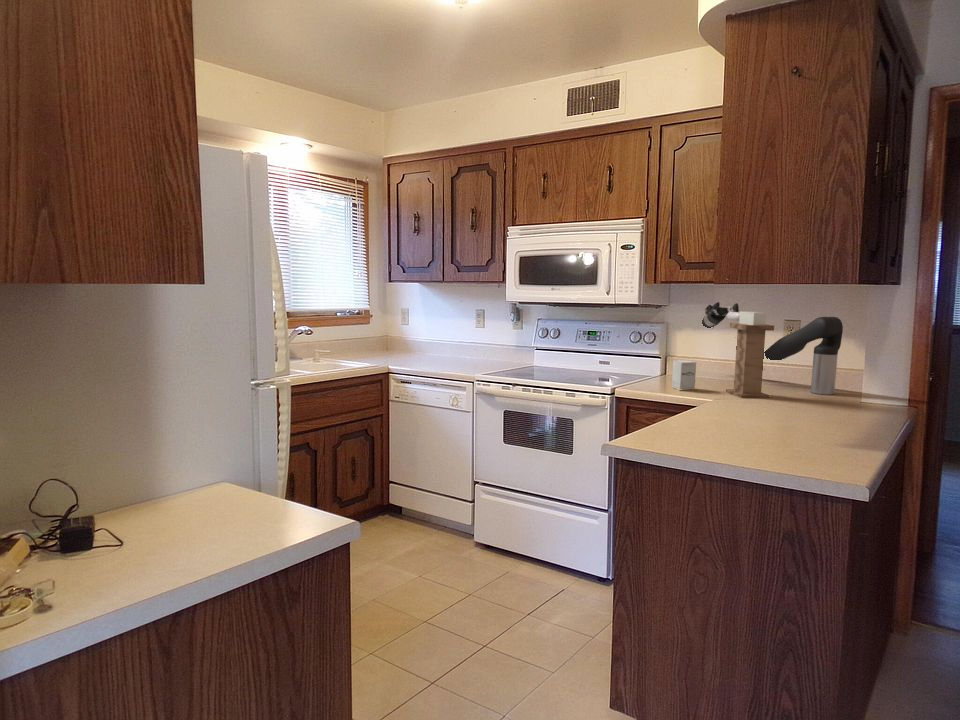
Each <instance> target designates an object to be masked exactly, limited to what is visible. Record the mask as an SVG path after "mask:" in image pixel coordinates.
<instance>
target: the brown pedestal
mask: <svg viewBox="0 0 960 720" xmlns="http://www.w3.org/2000/svg"><path fill="white" fill-rule="evenodd" d="M729 328H730V329H734V330H735V329H737V333H736V334H737V335H736V338H737V346H736V350H735V361H734V362H735V363H734V364H735V366H734V375H733V377H734V379H733V389H730V388H729V389H725V393H727V394H730V395H732V396H735V397H737V396H738V398H740V397H741V398H740V399H769V398H770V395H769V394H767V393H766V392H765V393H764V392H762V387H763V386H762V385H763V384H762V383H763V372H764V370H763V359H764V348H765V343H766V342H765V340H766V331H775V325H771V324H766V323H765V325H748V324H741V323H739V322H730V323H729Z"/></svg>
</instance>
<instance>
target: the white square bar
mask: <svg viewBox="0 0 960 720" xmlns="http://www.w3.org/2000/svg"><path fill="white" fill-rule="evenodd" d="M726 317H727V320H730V321H736V322H738V323H741V324H748V325H765V324H766V317H767V316H766V313H765V312H757V311H739V312H729V313H728V314H727V315H726Z"/></svg>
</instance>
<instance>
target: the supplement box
mask: <svg viewBox="0 0 960 720" xmlns="http://www.w3.org/2000/svg"><path fill="white" fill-rule="evenodd" d="M672 362H673V364H672V365H673V366H672V377H671V378H672V380H671V388H672V387H674V388H677V389H695V388H696V387H695V386H696V370H697V362H696V361H693V360H683V359H681V360H679V359H678V360H675V359H674V360H673V361H672ZM674 388H673V389H674Z"/></svg>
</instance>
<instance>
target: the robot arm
mask: <svg viewBox="0 0 960 720" xmlns="http://www.w3.org/2000/svg"><path fill="white" fill-rule="evenodd" d="M704 311H705V312H704V313H705V315H704V316H703V317H704V318H703V320H702V324H703V326H705V327H707V328H711V327H713V328H715V327H716V326H717V325H719V324H720V323H722V321H724V319H725V318H726V317H727V314H728V313H729V312H739V313H740V310H739V304H738V303H737V302H735V303H734V304H733V305H732V306H730V305H727V306H725V307H724V306H723V307H721V306H720V302H719V301H717V302H715V303H714V304H712V305H711V304H708V305H707V306H706V307H705V308H704ZM714 326H715V327H714ZM843 330H844V327H843V321H842V320H841V319H840V318H839V317H837V316H819V317H816V318H814V320H811V321H810V322H809V323H808V324H806V325H804V326H802V327H801V328H799V329H797V330H795V331H793V332H790V333H789V334H786V335H784V336H782V337H781V338H779V339H777V341H775V342H774V343H773V344H772V345H771V346H769V347H768V348H766V349H767V350H766V351H765V352H764V353H765V356H766V358H767V359H768V358H769V359H770V360H781V361H783V360H785V359H787V358H789V357H791V356H794V355H796V354H798V353H799V352H802V351H803V350H804V349H805V348H806V346H807V344H809V343H810V342H811V343H812V342H813V341H816V340H820V339H822V340H821V342H820V343H819V344H817V345H815V346H814V348H813V360H812V368H811V369H812V371H811V385H810V393H812V394H816V395H827V396H828V395H834V394H835V392H836V391H835V390H836V380H837V379H836V378H837V367H838V355H839V350H840V348H841V344H842V339H843ZM782 359H783V360H782Z"/></svg>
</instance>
